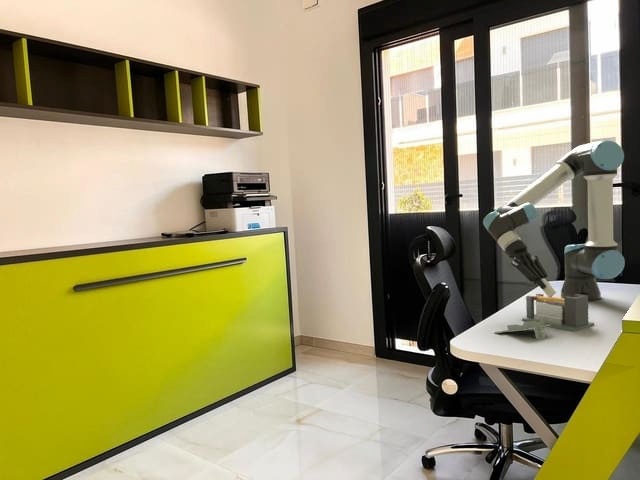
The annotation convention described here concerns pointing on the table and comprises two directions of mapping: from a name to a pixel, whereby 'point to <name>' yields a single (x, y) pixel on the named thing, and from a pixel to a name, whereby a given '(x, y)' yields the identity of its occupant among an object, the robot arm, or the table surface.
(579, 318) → the slotted lug
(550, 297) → the strap
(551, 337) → the table surface
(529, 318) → the grey green railed plate
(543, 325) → the metal bracket
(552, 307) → the heat sink
